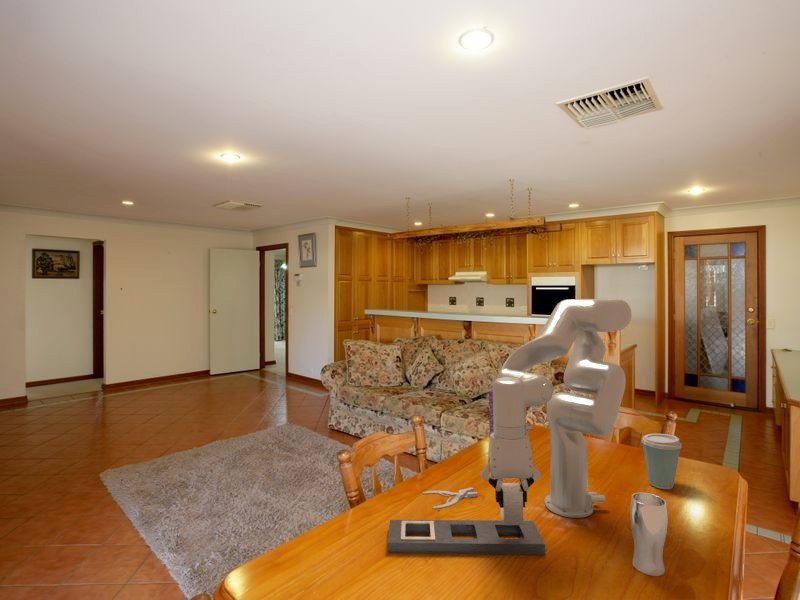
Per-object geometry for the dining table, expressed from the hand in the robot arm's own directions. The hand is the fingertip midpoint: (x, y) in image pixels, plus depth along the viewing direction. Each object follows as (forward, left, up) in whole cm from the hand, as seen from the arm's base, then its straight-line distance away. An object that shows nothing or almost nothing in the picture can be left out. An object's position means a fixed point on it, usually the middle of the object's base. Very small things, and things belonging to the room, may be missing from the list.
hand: (511, 503), depth 105 cm
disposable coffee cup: (-52, -31, -9) cm, 61 cm away
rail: (+12, 0, -9) cm, 15 cm away
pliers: (+12, -22, -10) cm, 27 cm away
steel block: (0, 0, -4) cm, 4 cm away
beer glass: (-27, +9, -9) cm, 30 cm away
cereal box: (-10, -59, -9) cm, 61 cm away
